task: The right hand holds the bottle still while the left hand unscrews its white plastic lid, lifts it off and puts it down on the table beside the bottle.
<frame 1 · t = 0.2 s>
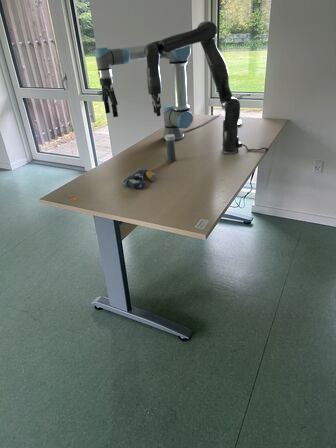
left hand: (111, 114, 206), 28 cm above the table, tool pointing down, fingers open, 13 cm apart
right hand: (157, 114, 193), 29 cm above the table, tool pointing down, fingers open, 8 cm apart
spray gun: (142, 181, 185), on the table
bottle: (171, 160, 209), on the table
lid: (169, 136, 201), point 16 cm above the table, screwed on, not yet turned
spoon: (232, 127, 259), on the table
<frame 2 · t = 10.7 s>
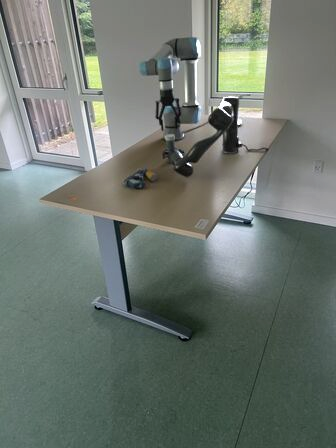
left hand: (169, 129, 199), 19 cm above the table, tool pointing down, fingers open, 8 cm apart
right hand: (170, 149, 208), 6 cm above the table, tool horizontal, fingers closed on bottle, 5 cm apart
bottle: (171, 160, 209), on the table, touching right hand
everything else where it was.
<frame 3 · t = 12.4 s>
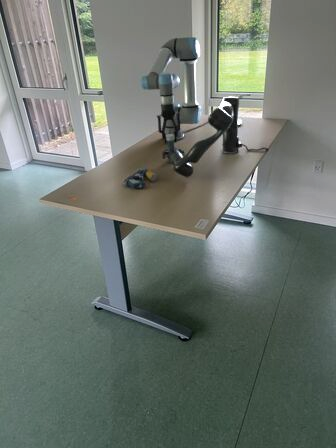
left hand: (170, 142, 203), 11 cm above the table, tool pointing down, fingers closed on lid, 6 cm apart
right hand: (170, 149, 208), 6 cm above the table, tool horizontal, fingers closed on bottle, 5 cm apart
bottle: (171, 160, 209), on the table, touching right hand
lid: (169, 136, 201), point 16 cm above the table, screwed on, not yet turned, touching left hand
everything else where it was.
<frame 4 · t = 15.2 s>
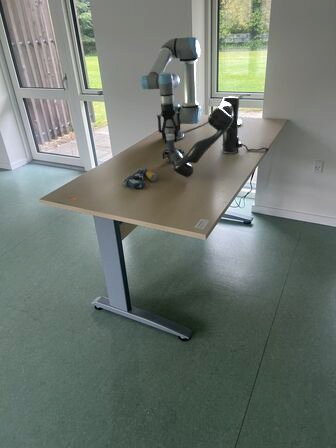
left hand: (170, 142, 203), 12 cm above the table, tool pointing down, fingers closed on lid, 6 cm apart
right hand: (170, 149, 208), 6 cm above the table, tool horizontal, fingers closed on bottle, 5 cm apart
bottle: (171, 160, 209), on the table, touching right hand
lid: (169, 135, 201), point 16 cm above the table, turned 63° so far, risen 0.2 cm, still on its thread, touching left hand
everything else where it was.
when the left hand's fingers open (0 cm above the table, at t = 21.5 s): lid drops 2 cm, point 2 cm above the table.
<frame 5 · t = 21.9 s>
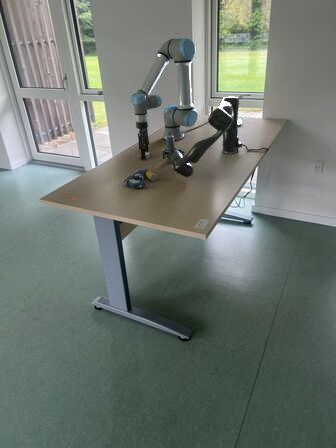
left hand: (145, 157, 217), 0 cm above the table, tool pointing down, fingers open, 7 cm apart
right hand: (170, 149, 208), 6 cm above the table, tool horizontal, fingers closed on bottle, 5 cm apart
bottle: (171, 160, 209), on the table, touching right hand
lid: (145, 154, 217), point 2 cm above the table, off its thread
everything else where it was.
when the right hand's fingers open (6 cm above the table, at t = 22.6 s): bottle stays where it is, on the table.
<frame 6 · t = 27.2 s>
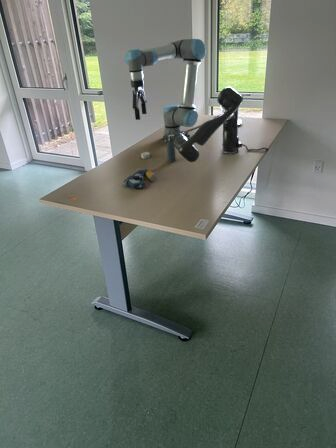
left hand: (141, 116, 205), 26 cm above the table, tool pointing down, fingers open, 13 cm apart
right hand: (173, 134, 189), 20 cm above the table, tool horizontal, fingers open, 8 cm apart
bottle: (171, 160, 209), on the table
everything else where it was.
at the end: lid came off its thread; lid point 1.9 cm above the table; the left hand is holding nothing; the right hand is holding nothing; bottle tilted 0°; bottle moved 0.1 cm from its start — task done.
